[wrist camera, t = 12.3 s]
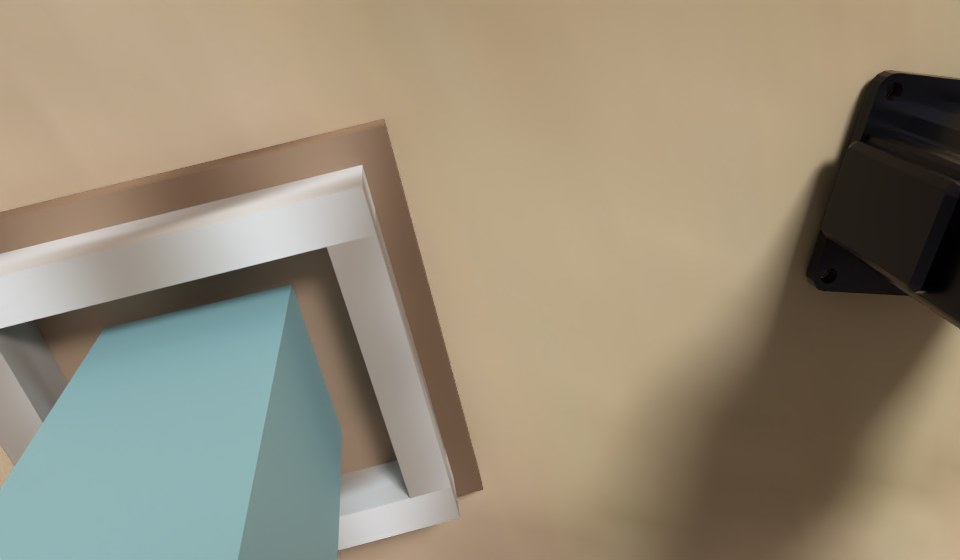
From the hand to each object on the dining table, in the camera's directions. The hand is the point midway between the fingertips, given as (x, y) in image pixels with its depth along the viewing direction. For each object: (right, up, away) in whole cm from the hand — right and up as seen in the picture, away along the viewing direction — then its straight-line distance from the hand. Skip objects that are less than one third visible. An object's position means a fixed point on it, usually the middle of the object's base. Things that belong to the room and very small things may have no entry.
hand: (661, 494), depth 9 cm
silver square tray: (-9, 0, +12) cm, 15 cm away
